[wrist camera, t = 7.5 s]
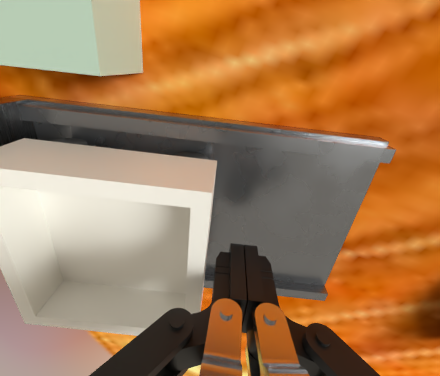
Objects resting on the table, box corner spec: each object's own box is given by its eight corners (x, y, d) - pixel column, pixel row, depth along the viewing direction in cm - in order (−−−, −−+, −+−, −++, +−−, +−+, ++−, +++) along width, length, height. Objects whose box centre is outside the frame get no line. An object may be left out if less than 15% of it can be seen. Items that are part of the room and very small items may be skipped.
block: (32, -56, 11) (-99, -138, 7) (138, -44, 11) (76, -116, 7) (56, 63, 13) (-31, 61, 9) (143, 72, 13) (100, 76, 9)
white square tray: (50, 129, 14) (-48, 162, 9) (218, 148, 14) (212, 192, 9) (79, 255, 19) (25, 323, 14) (205, 269, 19) (196, 342, 14)
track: (20, 95, 14) (-50, 104, 11) (379, 137, 14) (427, 160, 11) (63, 255, 20) (27, 296, 17) (316, 284, 20) (334, 329, 17)
